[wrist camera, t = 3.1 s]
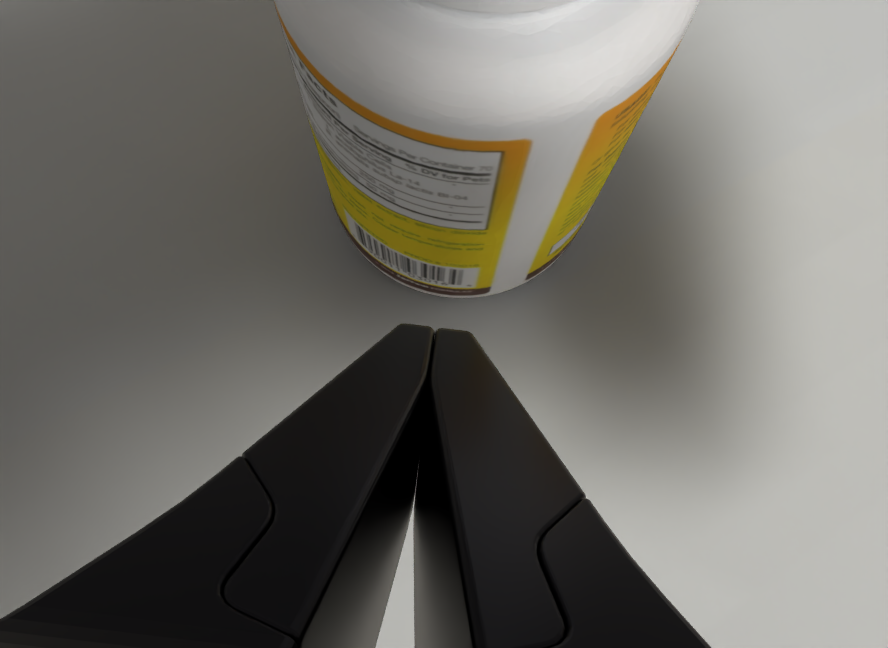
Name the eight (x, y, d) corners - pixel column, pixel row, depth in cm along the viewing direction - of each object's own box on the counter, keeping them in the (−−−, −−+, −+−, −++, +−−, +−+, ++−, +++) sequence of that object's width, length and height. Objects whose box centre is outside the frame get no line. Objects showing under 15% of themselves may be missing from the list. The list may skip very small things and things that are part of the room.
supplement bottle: (547, 49, 18) (704, -525, 8) (616, 275, 17) (900, -79, 7) (307, 96, 18) (163, -453, 8) (359, 332, 16) (266, 42, 6)
